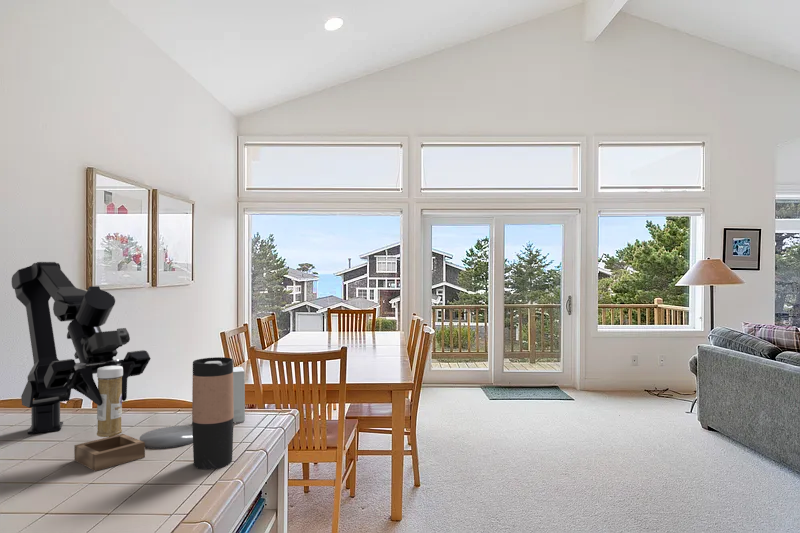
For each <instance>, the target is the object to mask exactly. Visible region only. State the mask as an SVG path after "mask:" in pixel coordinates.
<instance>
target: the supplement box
mask: <svg viewBox="0 0 800 533" xmlns="http://www.w3.org/2000/svg"><path fill="white" fill-rule="evenodd" d="M245 376H246V374H245V369H244V368H243V366H235V367H234V366H233V407H234V417H233V418H234V421H233V422H236V423H243V422H245V420H246V419H245V418H246V416H245V415H246V412H245V411H246V409H245V408H246V405H245V404H246V403H245V402H246V398H245V396H246V394H245V393H246V392H245V391H246V390H245V386H246V382H245V381H246V380H245V378H246V377H245Z"/></svg>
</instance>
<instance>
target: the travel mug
mask: <svg viewBox="0 0 800 533" xmlns="http://www.w3.org/2000/svg"><path fill="white" fill-rule="evenodd" d="M233 367H234V359H233V358H231V357H225V356H224V357H221V356H220V357H205V358H199V359H195V360H193V362H192V394H191V395H192V399H191V400H192V402H191V403H192V407H191V408H192V410H191V413H192V414H191V417H192V418H191V419H192V420H191V421H192V422H191V424H192V425H191V426H192V430H193V443H192V452H193V454H192V455H193V456H192V457H193V466H194V468H196V469H199V470H216V469H220V467H221V468H224V467H226V465H227V466H228V464H229V465H230V464H232V462H233V453H234V452H233V446H234V423H233V421H234V418H233V417H234V407H233ZM223 466H224V467H223Z"/></svg>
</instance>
